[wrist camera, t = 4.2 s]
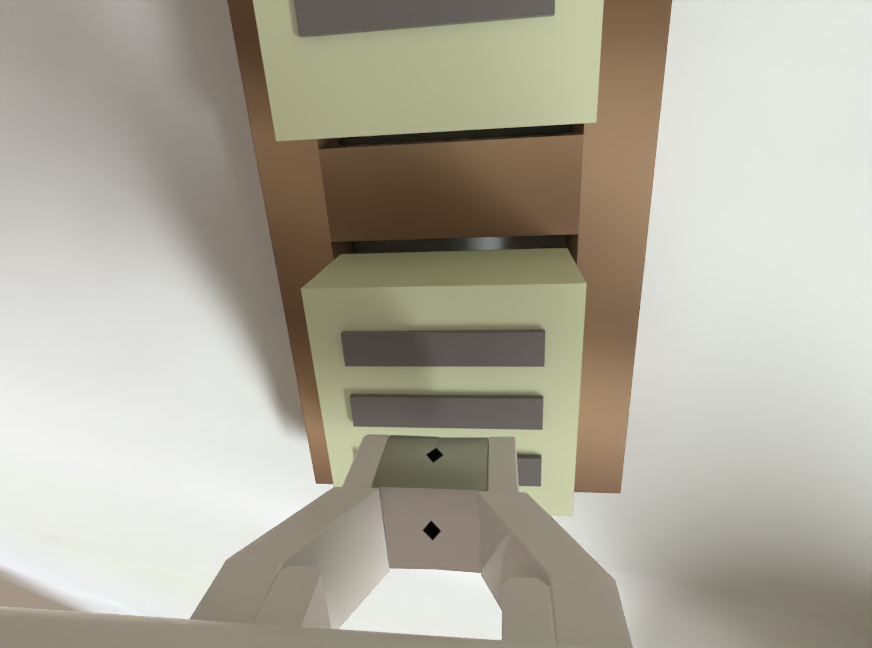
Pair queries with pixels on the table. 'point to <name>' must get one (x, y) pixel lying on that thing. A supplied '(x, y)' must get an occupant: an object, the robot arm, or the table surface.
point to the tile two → (428, 65)
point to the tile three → (453, 355)
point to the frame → (486, 212)
